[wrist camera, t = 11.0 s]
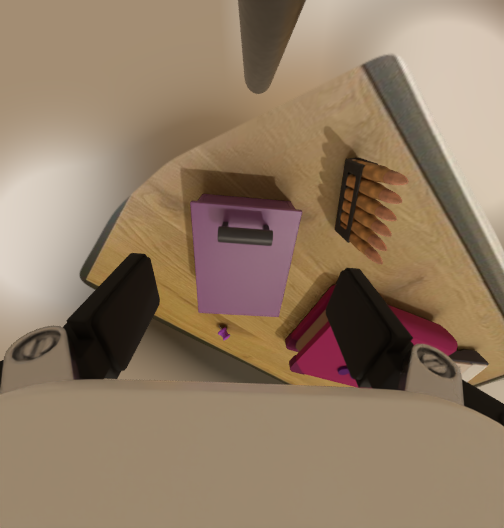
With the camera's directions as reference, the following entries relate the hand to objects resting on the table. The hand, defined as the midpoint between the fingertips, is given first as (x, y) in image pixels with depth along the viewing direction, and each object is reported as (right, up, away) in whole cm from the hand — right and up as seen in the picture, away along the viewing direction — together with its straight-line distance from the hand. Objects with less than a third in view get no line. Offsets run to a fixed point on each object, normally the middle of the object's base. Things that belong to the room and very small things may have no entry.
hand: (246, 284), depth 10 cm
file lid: (-1, +1, +19) cm, 19 cm away
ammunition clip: (+15, +11, +21) cm, 28 cm away
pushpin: (-6, -14, +36) cm, 39 cm away
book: (+25, -15, +38) cm, 47 cm away
